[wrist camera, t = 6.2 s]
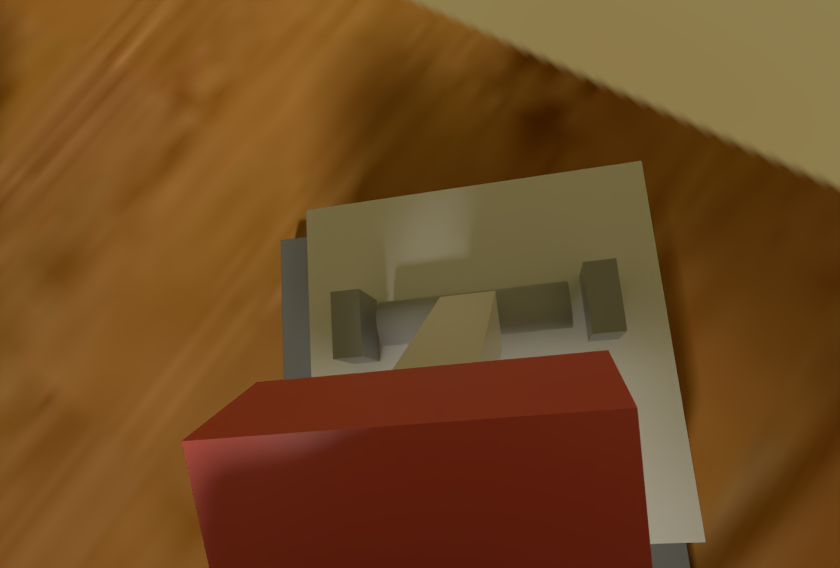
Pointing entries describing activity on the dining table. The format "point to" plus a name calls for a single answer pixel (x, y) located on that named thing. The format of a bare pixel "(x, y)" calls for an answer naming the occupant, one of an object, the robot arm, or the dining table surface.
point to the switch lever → (432, 452)
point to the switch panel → (503, 268)
